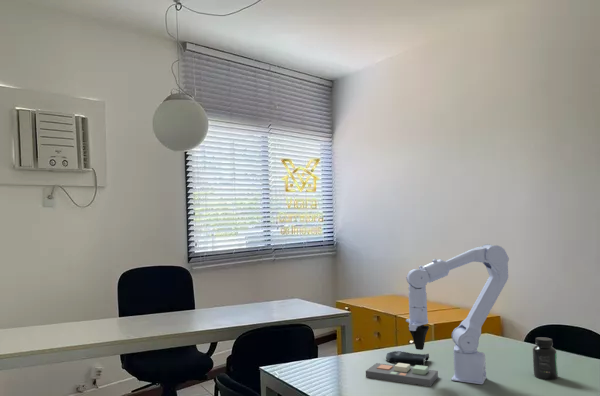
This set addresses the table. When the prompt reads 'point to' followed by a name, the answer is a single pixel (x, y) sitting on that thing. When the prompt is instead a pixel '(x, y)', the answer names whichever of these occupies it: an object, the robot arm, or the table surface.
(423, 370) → the sage key
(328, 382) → the table surface
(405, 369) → the sand key
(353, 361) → the table surface
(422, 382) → the keypad
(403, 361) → the electronic device
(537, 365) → the supplement bottle
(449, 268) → the robot arm
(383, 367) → the terracotta key
